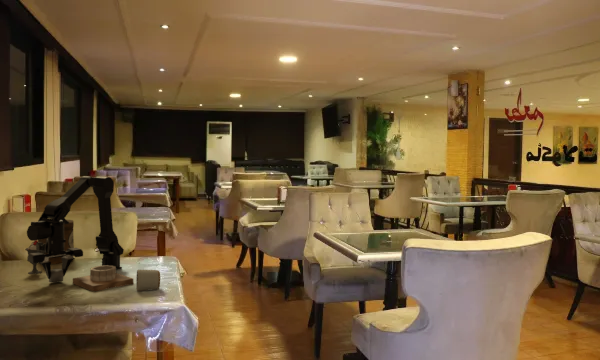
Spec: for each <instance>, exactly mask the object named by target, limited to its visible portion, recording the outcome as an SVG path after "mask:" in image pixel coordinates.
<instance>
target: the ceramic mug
mask: <svg viewBox="0 0 600 360" xmlns="http://www.w3.org/2000/svg"><path fill="white" fill-rule="evenodd" d="M135 286H136V291H137V292H140V291H142V292H143V291H155V290H156V291H157V290H159V289H160V287H161V272H160V270H157V269H137V270H136V285H135Z"/></svg>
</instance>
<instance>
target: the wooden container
mask: <svg viewBox="0 0 600 360" xmlns="http://www.w3.org/2000/svg"><path fill="white" fill-rule="evenodd" d="M66 220H67V221H68V222H69V224H64V239H65V240H66V242H64V250H66V251H67V249H69V248H75V245H74V243H75V241H74V240H75V239H74V226H75V225H74V222H75V221H74V220H73V219H66ZM46 239H48V238H46ZM46 239H40V240H37V241H38V243H39V242H43V244H46ZM41 253H42V252H41ZM45 254H48V253H45ZM59 255H61V254H59ZM52 256H54V255H52ZM73 258H75V256H73ZM49 261H50V262H51V265H59V264H61V265H62V259H61V257H56V258H49Z"/></svg>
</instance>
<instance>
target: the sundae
mask: <svg viewBox="0 0 600 360" xmlns="http://www.w3.org/2000/svg"><path fill="white" fill-rule="evenodd" d="M36 243H38V240H34V241H32V242H31V243H30V245H29V246H28V247H27V248H25V251H27V256H28V255H29V254H30V253H38V252H39V253H41V252H42V251H38V252H37V250H36ZM29 263H30V264H31V265H32V269H31V271H29V272H28V273H27V274H29V275H38V274H41V273H42V271H40V270H38V269H37V265H38V264H39V263H31V262H29Z"/></svg>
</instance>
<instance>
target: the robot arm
mask: <svg viewBox="0 0 600 360" xmlns="http://www.w3.org/2000/svg"><path fill="white" fill-rule="evenodd" d="M114 185H115V184H114V179H113V178H111V177H109V176H96V177H94V176H89V175H88V176H87V175H83V176H81V177H79V180H78V181H76V183H74V184H73V185H72V186H71V188H69V190H67V191H66V192H65V193H64V194H63V195H62V196H61V197H59V198H56V199H54V200H52V201H50V202H49V203H48V204H47V205H45V207H44V209H43V212H42V214H41V215H40V217H39V219H38V220H37V221H31V222H30V225H29V226H28V228H27V230H26V236H27V238H28V240H30V241H32V242H34V241H35V240H37V241H38V240H40V239H46V238H48V239H46V244H43V242H39V243H36V250H37V252H38V251H42V253H39V252H38V253H30V254H29V255H28V254H27V262H28V263H30V262H31V263H38V264H41V266H42V267H43V270H44V272H45V274H46V276H47V279H48V280H49V279H50V276H51V270H52V264H51V262H50V261H49V258H56V257H61V259H62V264H61V269H63V278H64V277H65V275H66V274H67V271H68V269H69V267H70V266H71V264H72V262H73V261H75V259H76V258H80V257H81V258H82V257H84V251H83V249H82V248H78V247H74V248H69V249H67V251H66V250H64V242H66V240H65V239H64V224H69V222H68V221H67V220H68V219H66V217H67V215H68V214H69V213H70V212H71V207H72V206H73V204H74V203H75V202H76V201H77V200H78V199H80V198H81V197H82V196H83V195H84V194H85V193H86V191H88V190H89V189H90V188H92V191H93V194H94V195H95V196H96V198H97V205H98V216H99V227H100V232H99V234H98V236H95V241H96V242H95V243H96V244H95V246H96V247H97V250H98V252H99V255H102V258H101V266H105V265H108V266H115V267H116V270H118V269H119V270H121V269H122V268H123V267H122V266H121V255H123V254H124V248H123V247H122V245H121V244H120V243H119V239H118V236H117V235H116V233H115V231H114V228H113V225H114V224H113V215H112V202H111V197H112V195H113V193H114V189H115V188H114ZM45 253H48V254H45ZM59 254H61V255H59ZM52 255H54V256H52ZM73 256H74V258H73ZM31 263H30V264H31Z"/></svg>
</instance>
